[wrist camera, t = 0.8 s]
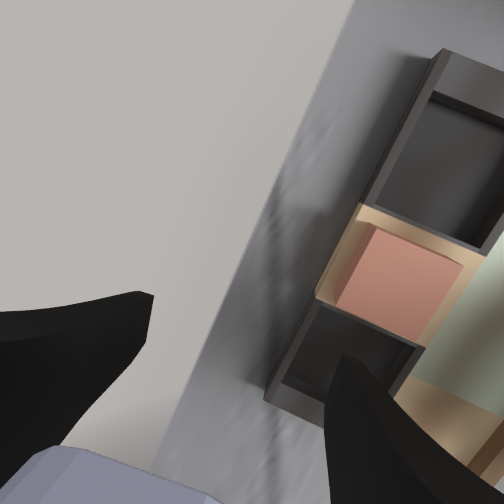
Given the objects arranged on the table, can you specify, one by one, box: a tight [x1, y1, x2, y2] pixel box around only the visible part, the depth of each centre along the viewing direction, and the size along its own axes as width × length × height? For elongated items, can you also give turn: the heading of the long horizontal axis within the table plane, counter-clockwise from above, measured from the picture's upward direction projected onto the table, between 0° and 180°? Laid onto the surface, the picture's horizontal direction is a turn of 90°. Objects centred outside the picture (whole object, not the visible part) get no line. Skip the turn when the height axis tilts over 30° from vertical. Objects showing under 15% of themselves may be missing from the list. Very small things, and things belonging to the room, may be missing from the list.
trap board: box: [263, 48, 504, 487], centre depth 18 cm, size 14×22×3 cm, turn 158°
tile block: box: [333, 223, 464, 342], centre depth 18 cm, size 4×4×2 cm
